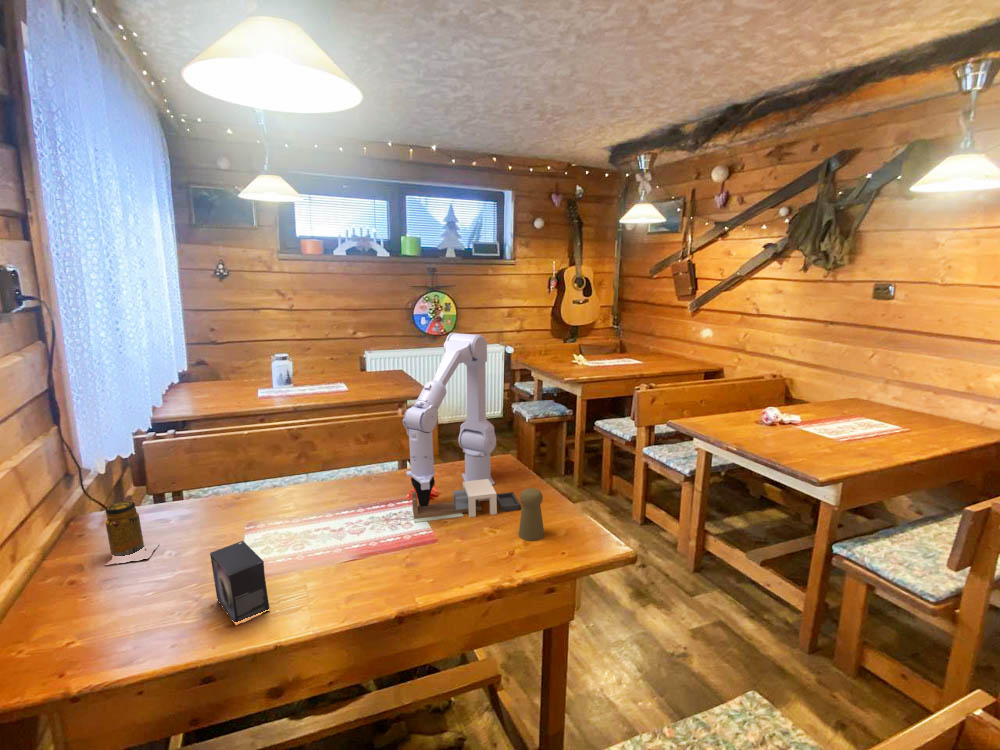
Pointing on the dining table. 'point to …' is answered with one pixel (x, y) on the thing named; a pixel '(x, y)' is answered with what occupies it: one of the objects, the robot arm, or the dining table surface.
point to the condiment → (123, 528)
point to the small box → (239, 581)
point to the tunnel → (480, 495)
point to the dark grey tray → (508, 502)
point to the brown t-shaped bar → (444, 506)
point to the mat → (438, 517)
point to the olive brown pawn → (531, 515)
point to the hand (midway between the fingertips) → (424, 505)
